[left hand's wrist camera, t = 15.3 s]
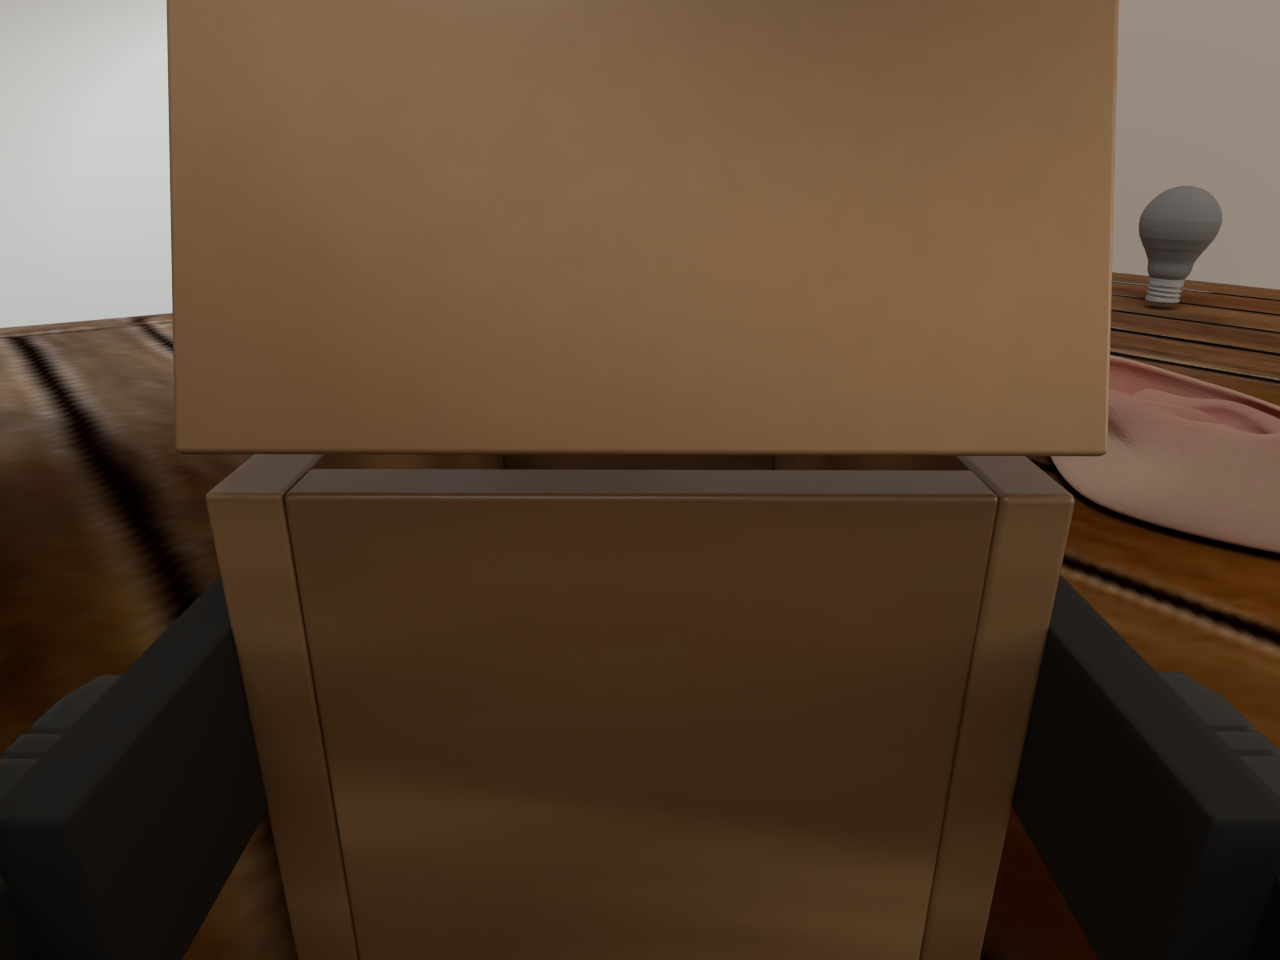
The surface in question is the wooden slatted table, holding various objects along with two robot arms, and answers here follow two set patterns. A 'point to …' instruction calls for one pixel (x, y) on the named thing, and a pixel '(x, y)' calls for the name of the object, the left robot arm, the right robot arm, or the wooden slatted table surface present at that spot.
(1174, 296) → the light bulb
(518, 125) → the lid
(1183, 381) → the anatomical model
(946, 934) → the chest
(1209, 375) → the wooden slatted table surface
